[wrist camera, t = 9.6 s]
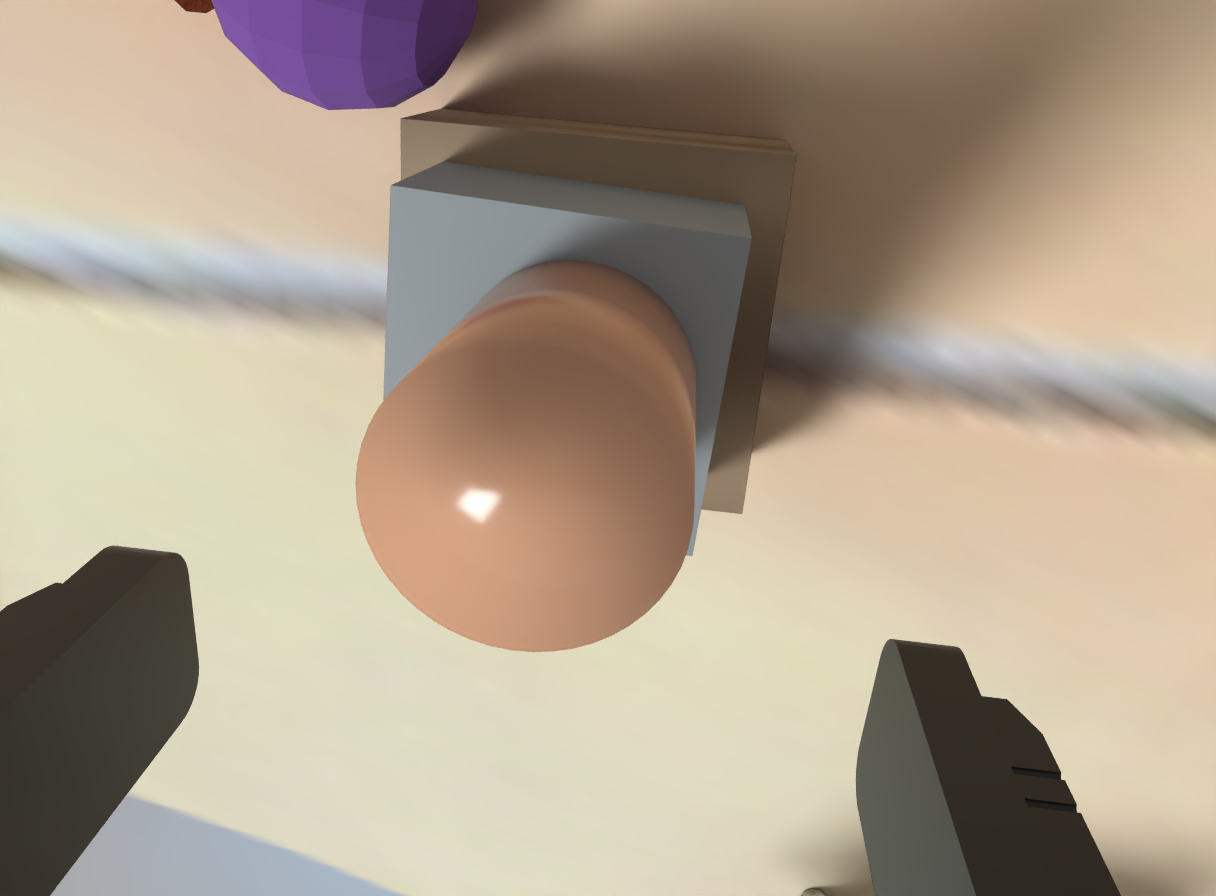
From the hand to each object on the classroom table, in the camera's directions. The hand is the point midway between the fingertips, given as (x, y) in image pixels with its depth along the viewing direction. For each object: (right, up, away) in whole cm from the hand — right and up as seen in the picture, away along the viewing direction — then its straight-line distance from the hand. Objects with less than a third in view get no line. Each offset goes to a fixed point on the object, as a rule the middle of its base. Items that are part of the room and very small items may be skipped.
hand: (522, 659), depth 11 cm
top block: (0, +5, +12) cm, 13 cm away
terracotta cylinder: (0, +4, +9) cm, 9 cm away
